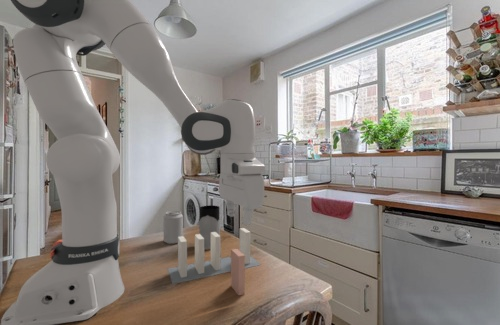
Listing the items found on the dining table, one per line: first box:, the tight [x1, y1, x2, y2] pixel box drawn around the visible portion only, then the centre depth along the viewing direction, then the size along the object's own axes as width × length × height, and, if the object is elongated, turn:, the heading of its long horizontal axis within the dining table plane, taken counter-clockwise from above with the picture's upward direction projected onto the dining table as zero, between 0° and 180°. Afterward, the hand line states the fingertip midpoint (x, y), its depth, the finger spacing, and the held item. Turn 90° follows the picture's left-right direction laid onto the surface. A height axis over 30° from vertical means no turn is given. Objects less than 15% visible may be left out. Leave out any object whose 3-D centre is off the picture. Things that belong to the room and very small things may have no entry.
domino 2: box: [194, 233, 205, 274], centre depth 72 cm, size 2×5×10 cm, turn 26°
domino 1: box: [177, 235, 188, 278], centre depth 70 cm, size 2×5×10 cm, turn 26°
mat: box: [167, 255, 262, 285], centre depth 75 cm, size 27×10×1 cm, turn 116°
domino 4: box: [230, 248, 246, 296], centre depth 62 cm, size 2×5×10 cm, turn 26°
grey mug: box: [198, 204, 221, 250], centre depth 96 cm, size 9×14×15 cm, turn 178°
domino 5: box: [239, 227, 252, 264], centre depth 79 cm, size 2×5×10 cm, turn 26°
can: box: [163, 210, 184, 245], centre depth 98 cm, size 8×8×12 cm
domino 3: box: [210, 232, 222, 270], centre depth 75 cm, size 2×5×10 cm, turn 26°
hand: (238, 220), depth 61 cm, fingers open, 8 cm apart
